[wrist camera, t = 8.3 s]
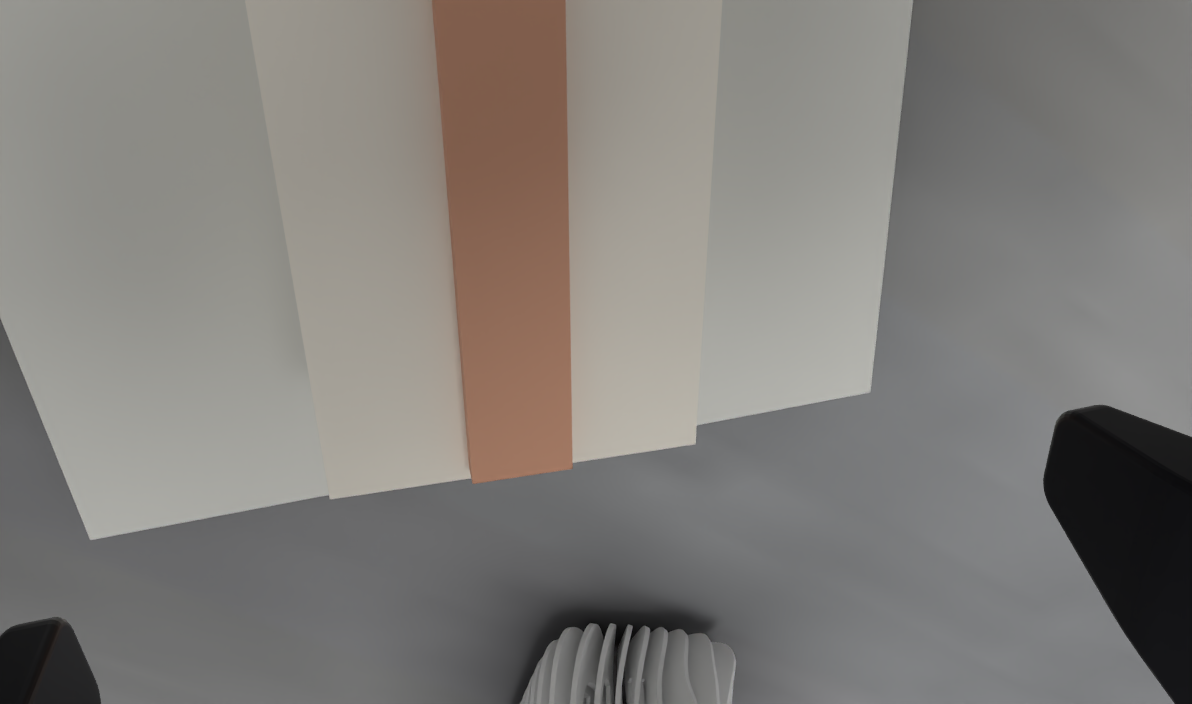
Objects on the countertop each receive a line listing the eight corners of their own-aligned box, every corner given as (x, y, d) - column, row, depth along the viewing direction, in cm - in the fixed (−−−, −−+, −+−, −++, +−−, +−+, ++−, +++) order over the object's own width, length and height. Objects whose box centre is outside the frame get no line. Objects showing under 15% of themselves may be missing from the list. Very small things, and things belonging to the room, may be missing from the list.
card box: (637, 336, 21) (703, 458, 18) (322, 377, 20) (330, 515, 16) (649, -175, 16) (742, -138, 13) (235, -164, 15) (222, -120, 12)
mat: (942, -395, 16) (956, -397, 16) (862, 382, 23) (870, 392, 23) (-252, -336, 13) (-266, -336, 13) (93, 526, 21) (90, 539, 20)
